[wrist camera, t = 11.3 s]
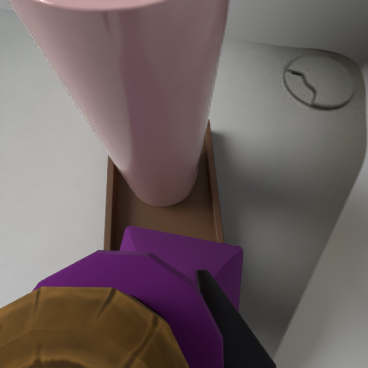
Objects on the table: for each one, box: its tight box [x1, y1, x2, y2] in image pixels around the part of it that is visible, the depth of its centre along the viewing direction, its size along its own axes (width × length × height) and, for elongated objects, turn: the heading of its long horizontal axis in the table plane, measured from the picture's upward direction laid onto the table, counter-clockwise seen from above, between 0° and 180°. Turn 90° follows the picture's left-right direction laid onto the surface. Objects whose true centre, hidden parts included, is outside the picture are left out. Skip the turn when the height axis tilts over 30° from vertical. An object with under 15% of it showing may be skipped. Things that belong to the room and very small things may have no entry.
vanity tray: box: [104, 119, 224, 251], centre depth 21 cm, size 19×10×2 cm, turn 4°
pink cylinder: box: [7, 0, 231, 207], centre depth 15 cm, size 7×7×18 cm
